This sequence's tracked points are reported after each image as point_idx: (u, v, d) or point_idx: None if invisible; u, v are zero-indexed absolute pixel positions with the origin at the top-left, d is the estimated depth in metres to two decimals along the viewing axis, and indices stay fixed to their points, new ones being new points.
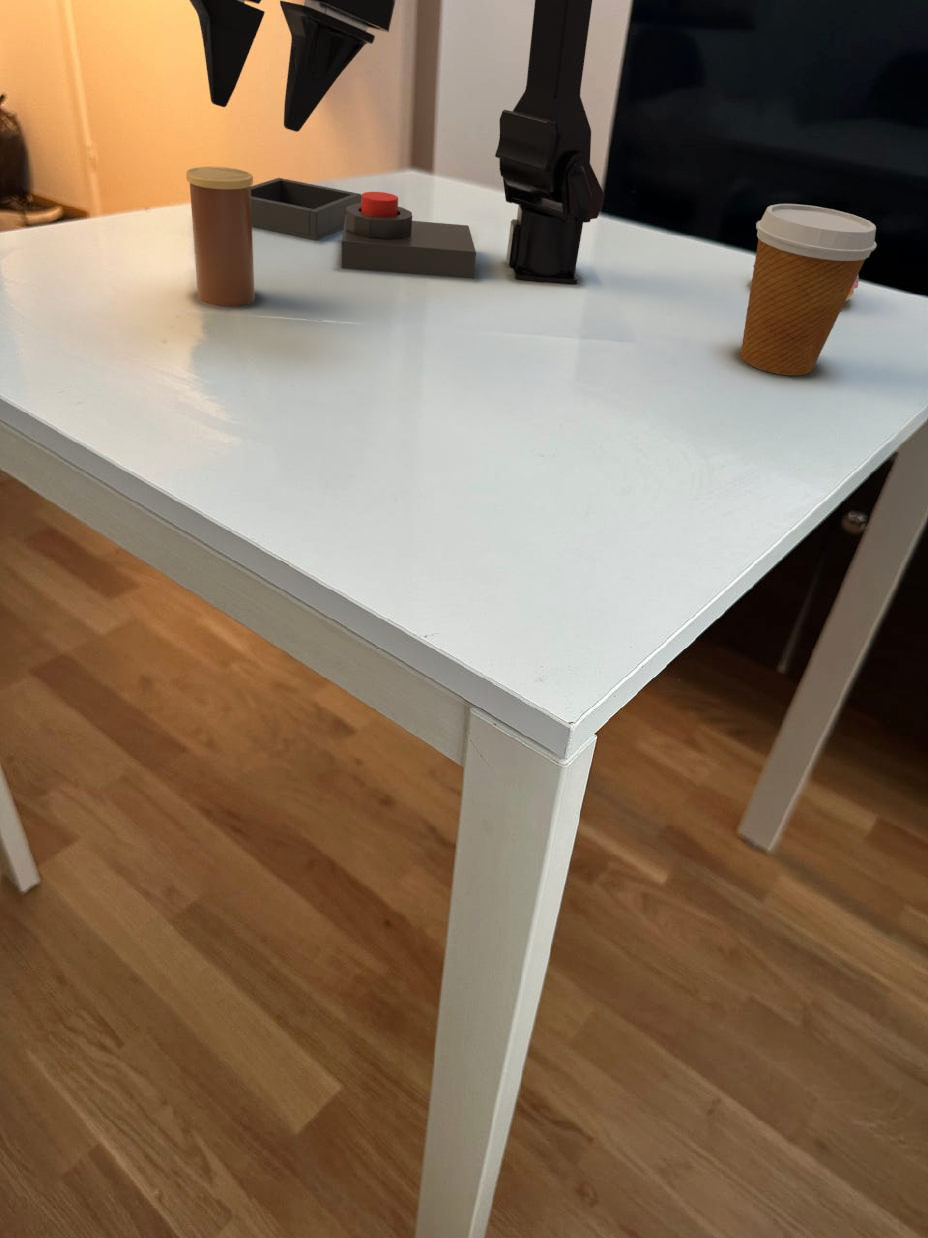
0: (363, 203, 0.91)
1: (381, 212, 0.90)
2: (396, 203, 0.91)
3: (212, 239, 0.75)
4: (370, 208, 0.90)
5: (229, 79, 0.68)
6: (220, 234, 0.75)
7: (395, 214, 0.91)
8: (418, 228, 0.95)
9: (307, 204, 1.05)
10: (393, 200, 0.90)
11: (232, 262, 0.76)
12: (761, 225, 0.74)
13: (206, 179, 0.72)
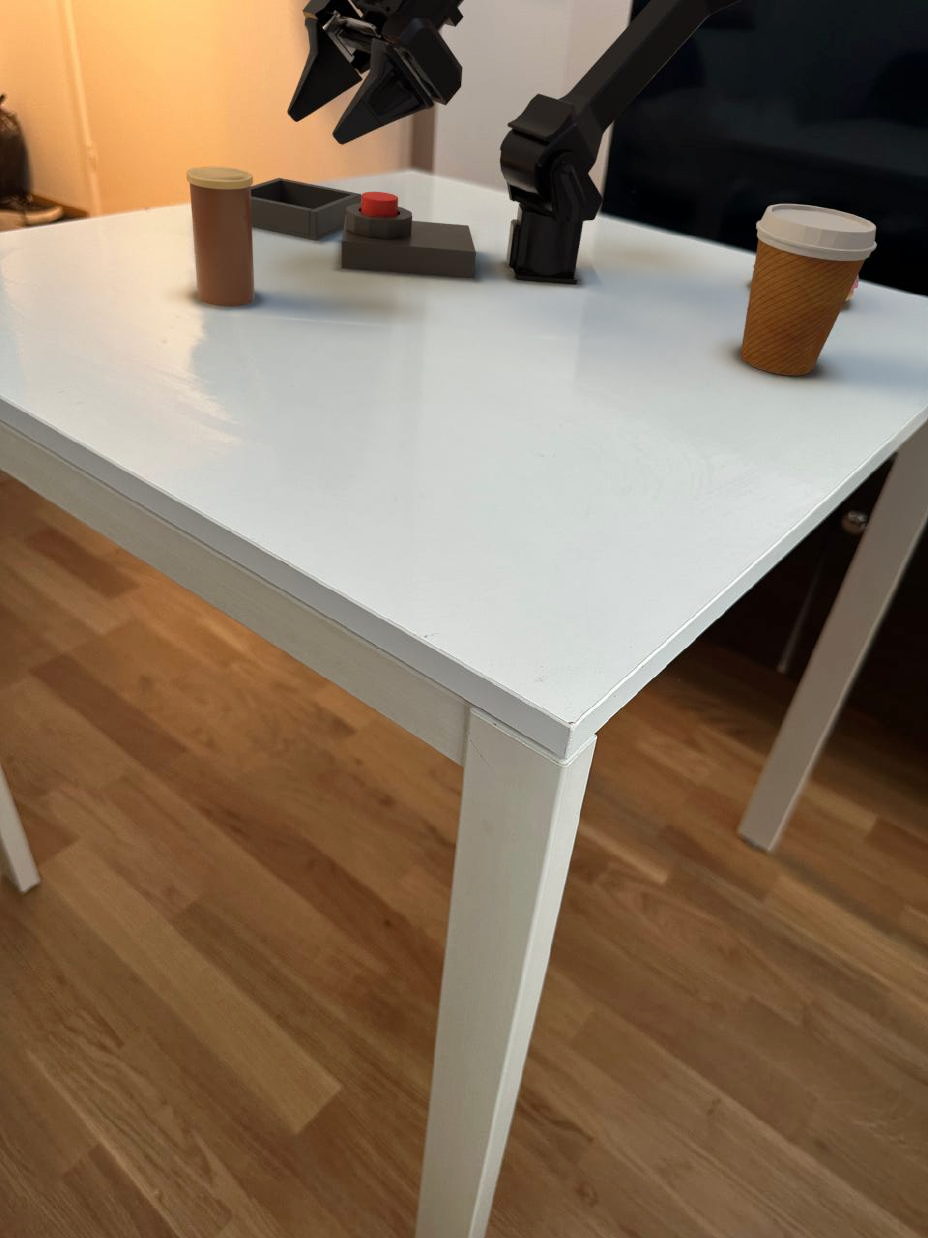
0: (363, 203, 0.91)
1: (381, 212, 0.90)
2: (396, 203, 0.91)
3: (212, 239, 0.75)
4: (370, 208, 0.90)
5: (309, 104, 0.79)
6: (220, 234, 0.75)
7: (395, 214, 0.91)
8: (418, 228, 0.95)
9: (307, 204, 1.05)
10: (393, 200, 0.90)
11: (232, 262, 0.76)
12: (761, 225, 0.74)
13: (206, 179, 0.72)
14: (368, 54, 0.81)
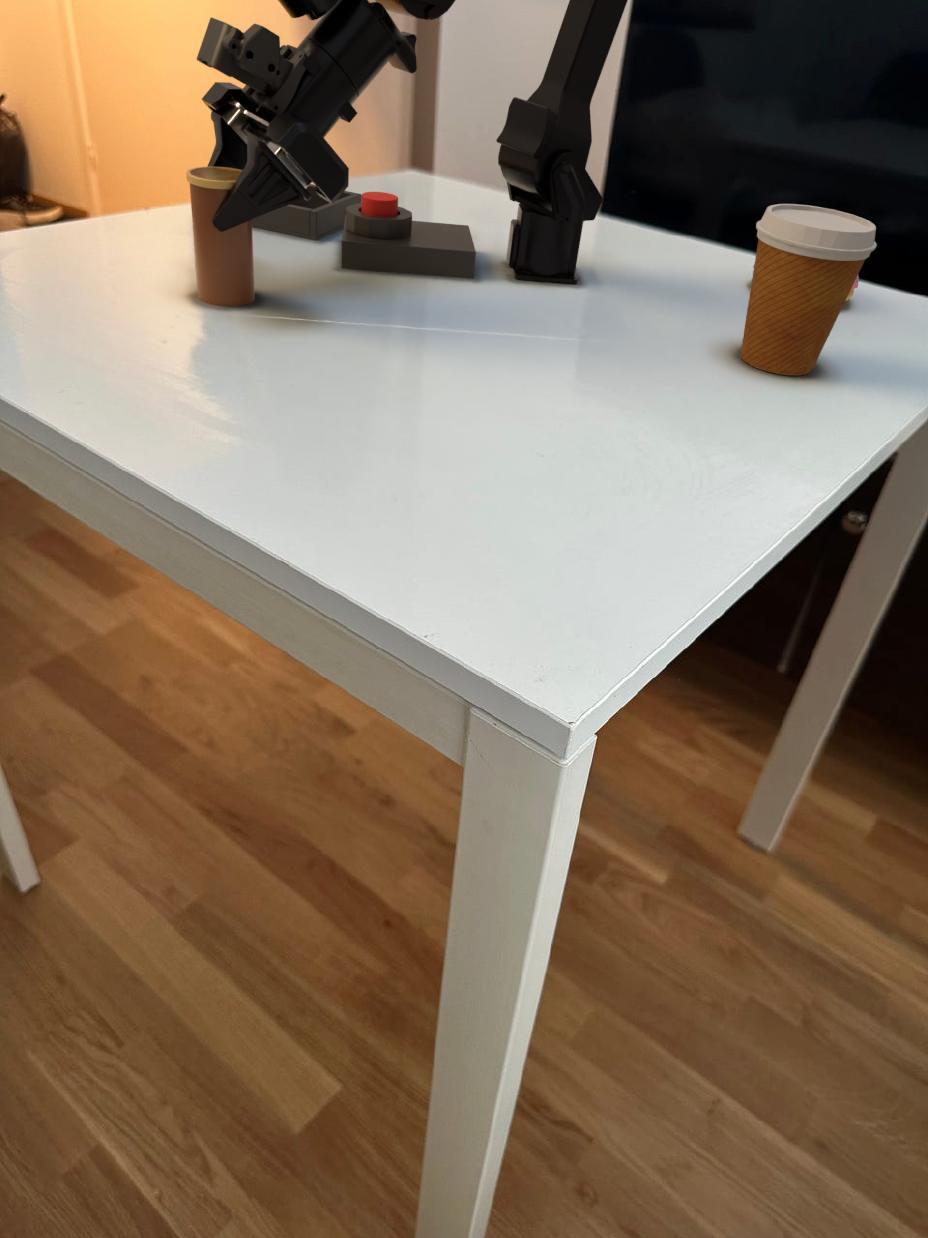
0: (363, 203, 0.91)
1: (381, 212, 0.90)
2: (396, 203, 0.91)
3: (212, 239, 0.75)
4: (370, 208, 0.90)
5: None
6: (220, 234, 0.75)
7: (395, 214, 0.91)
8: (418, 228, 0.95)
9: (307, 204, 1.05)
10: (393, 200, 0.90)
11: (232, 263, 0.76)
12: (761, 225, 0.74)
13: (206, 179, 0.72)
14: None
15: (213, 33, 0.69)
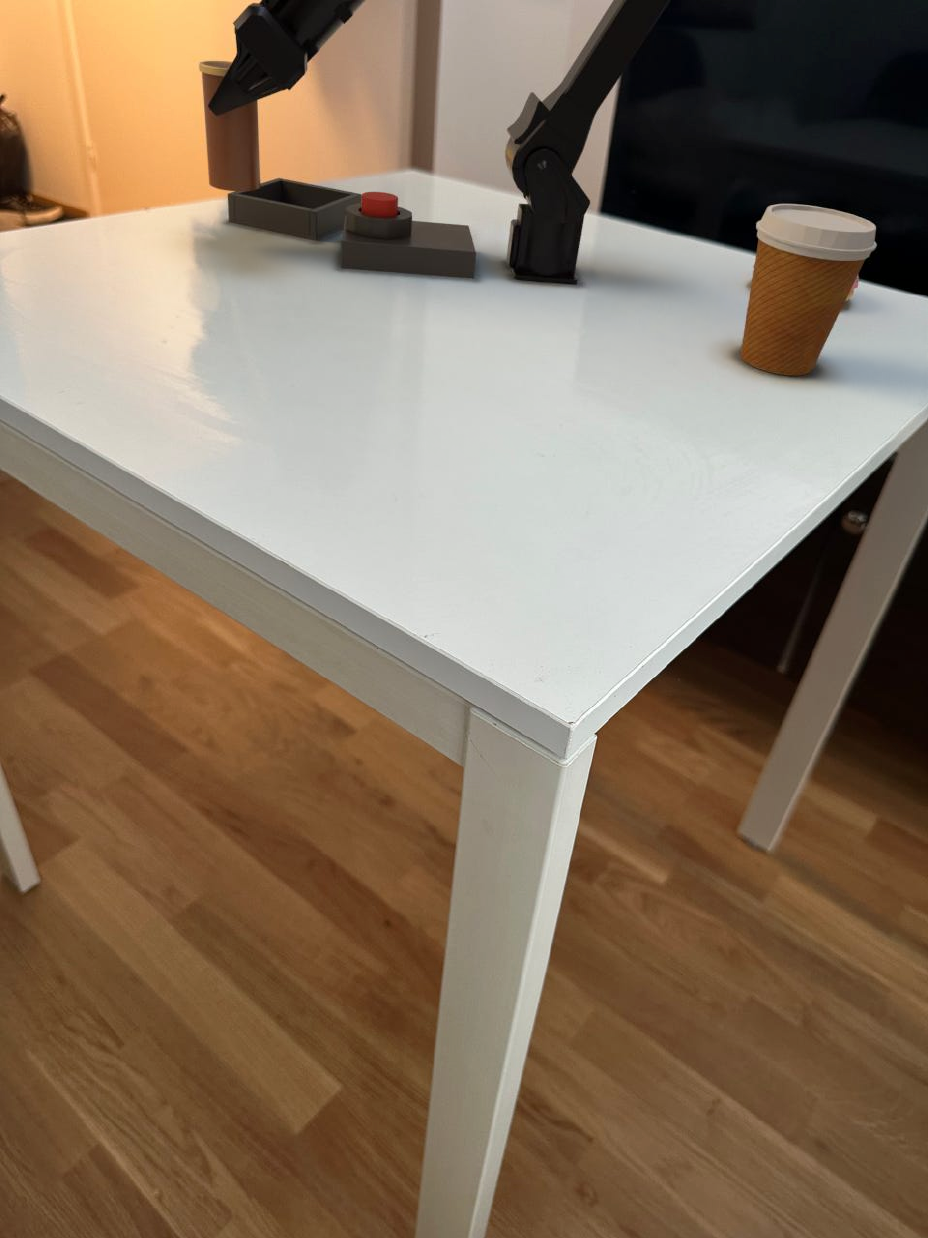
0: (363, 203, 0.91)
1: (381, 212, 0.90)
2: (396, 203, 0.91)
3: (211, 123, 0.84)
4: (370, 208, 0.90)
5: None
6: (217, 118, 0.83)
7: (395, 214, 0.91)
8: (418, 228, 0.95)
9: (307, 204, 1.05)
10: (393, 200, 0.90)
11: (228, 147, 0.85)
12: (761, 225, 0.74)
13: (206, 65, 0.81)
14: None
15: None
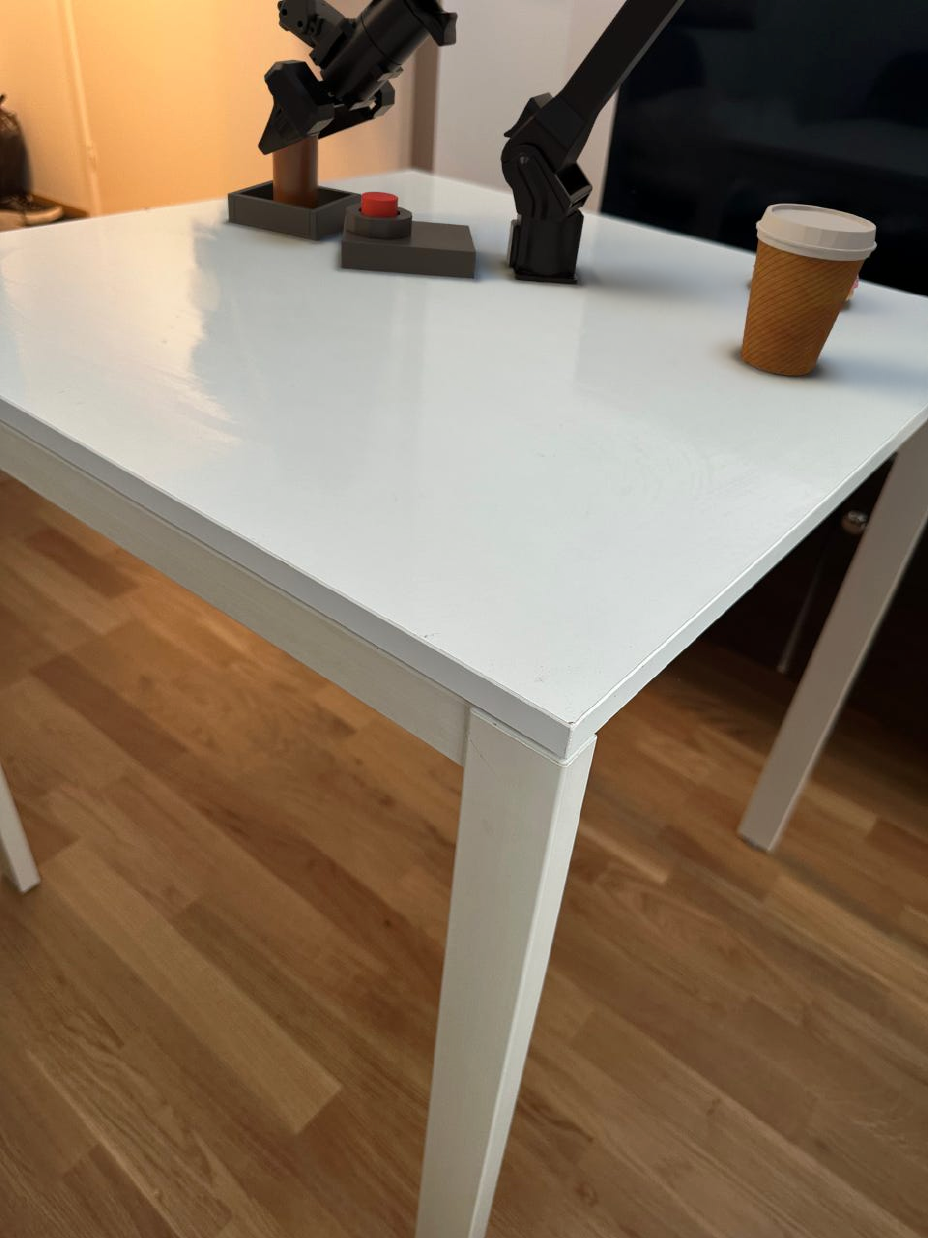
0: (363, 203, 0.91)
1: (381, 212, 0.90)
2: (396, 203, 0.91)
3: (274, 163, 0.98)
4: (370, 208, 0.90)
5: None
6: (277, 160, 0.97)
7: (395, 214, 0.91)
8: (418, 228, 0.95)
9: None
10: (393, 200, 0.90)
11: (283, 185, 0.98)
12: (761, 225, 0.74)
13: None
14: None
15: None
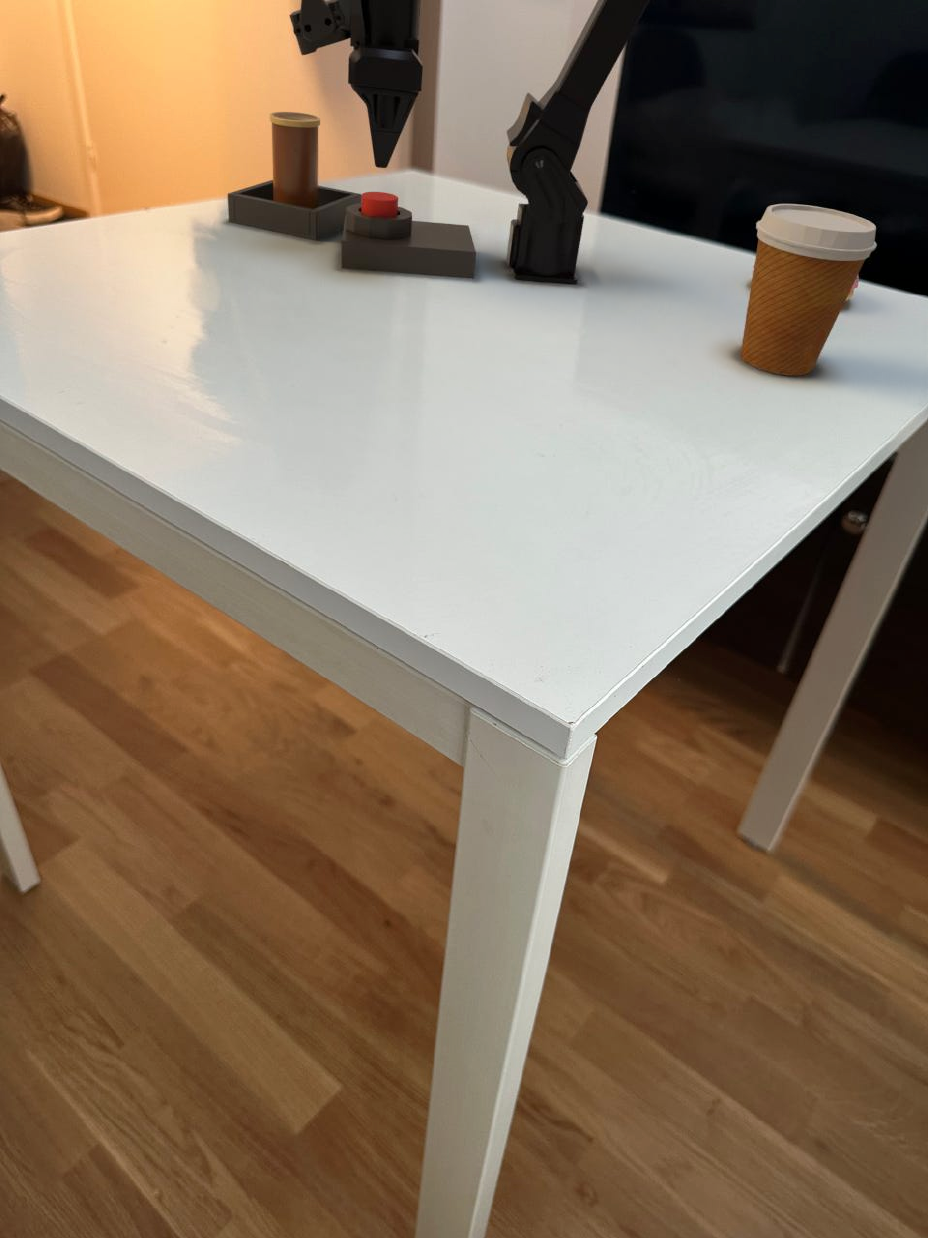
0: (363, 203, 0.91)
1: (381, 212, 0.90)
2: (396, 203, 0.91)
3: (274, 163, 0.98)
4: (370, 208, 0.90)
5: None
6: (277, 160, 0.97)
7: (395, 214, 0.91)
8: (418, 228, 0.95)
9: None
10: (393, 200, 0.90)
11: (283, 185, 0.98)
12: (761, 225, 0.74)
13: (272, 115, 0.95)
14: None
15: None
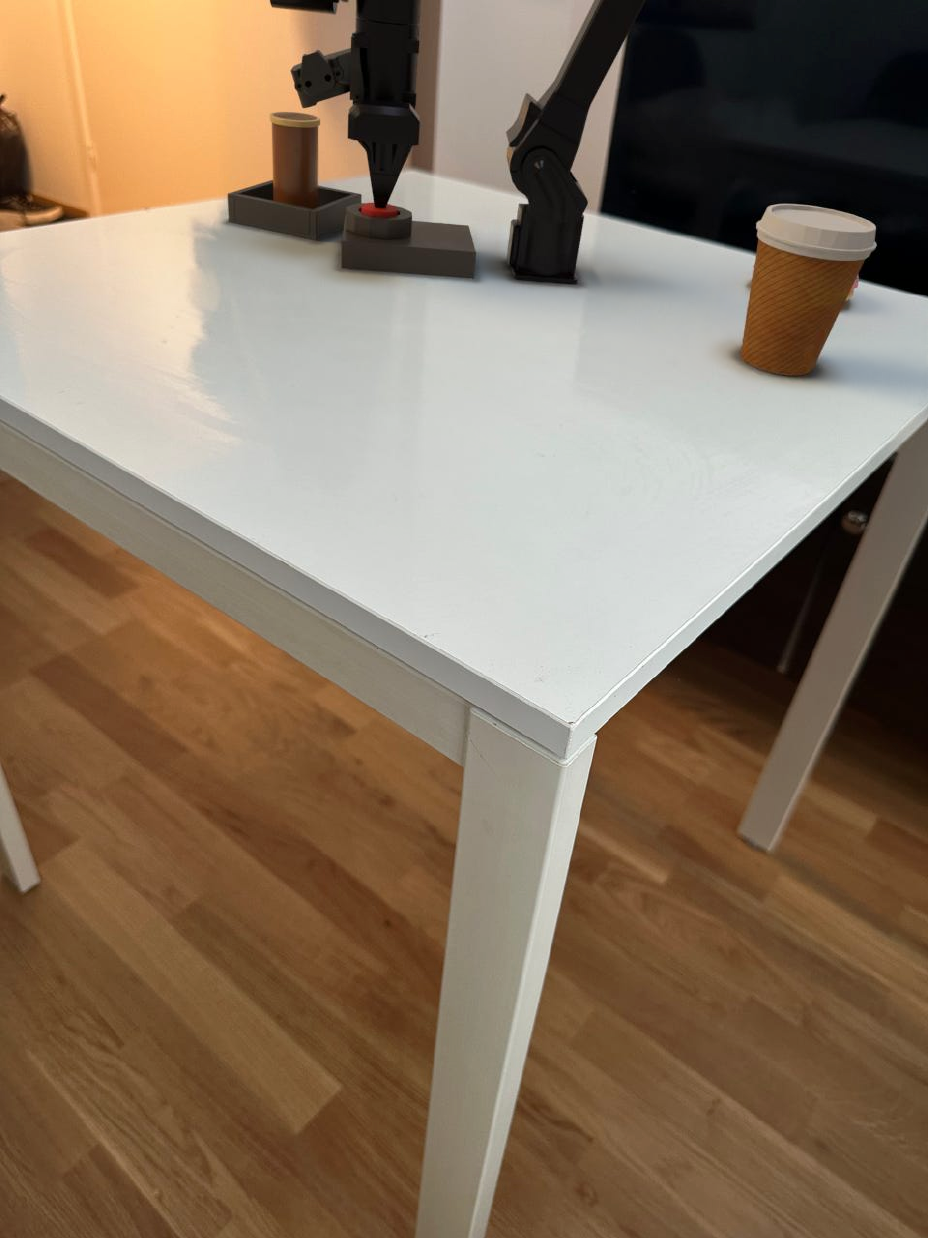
0: None
1: None
2: (395, 214, 0.91)
3: (274, 163, 0.98)
4: None
5: None
6: (277, 160, 0.97)
7: None
8: (418, 228, 0.95)
9: None
10: (392, 211, 0.91)
11: (283, 185, 0.98)
12: (761, 225, 0.74)
13: (272, 115, 0.95)
14: None
15: None
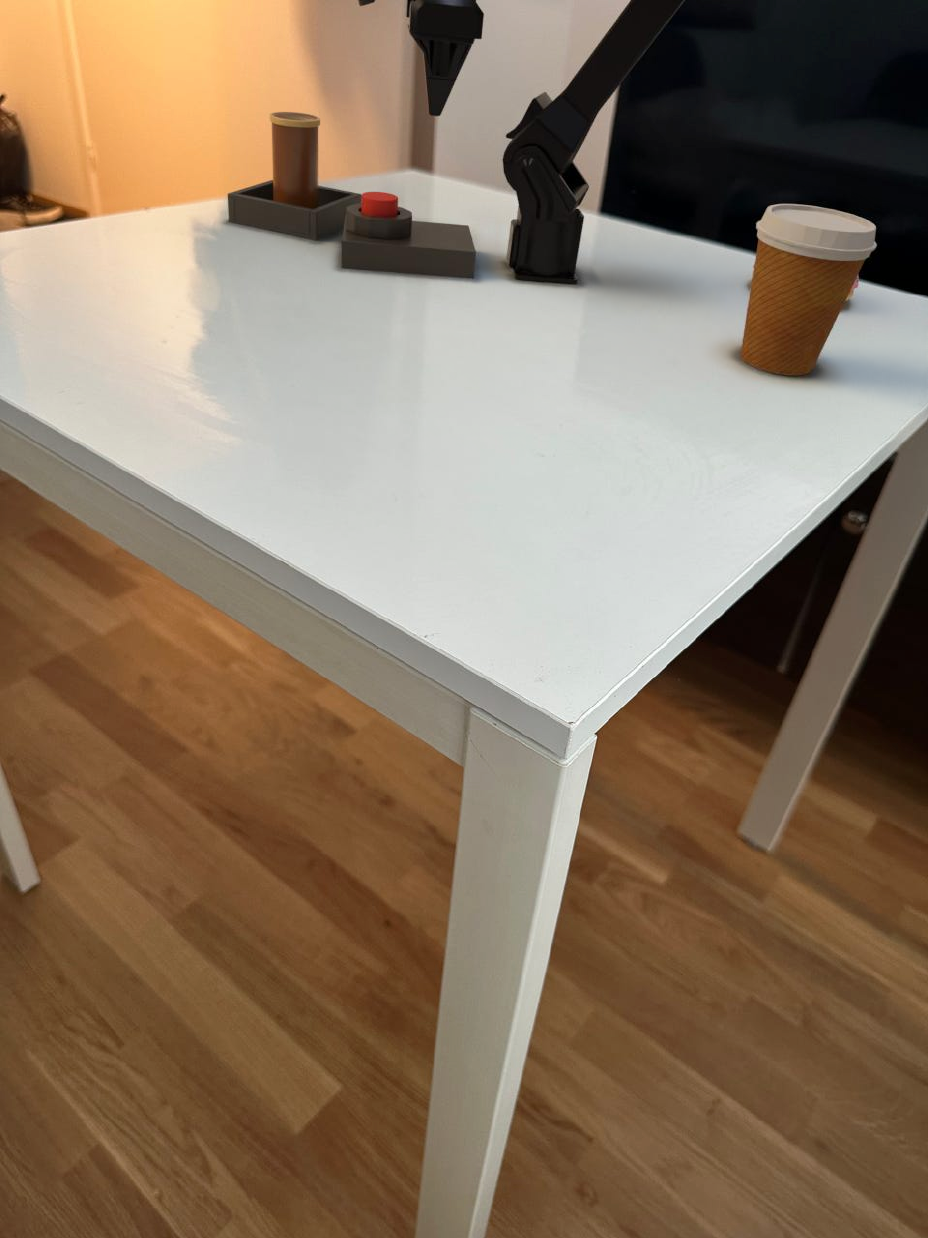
0: (363, 203, 0.91)
1: (381, 212, 0.90)
2: (396, 203, 0.91)
3: (274, 163, 0.98)
4: (370, 208, 0.90)
5: None
6: (277, 160, 0.97)
7: (395, 214, 0.91)
8: (418, 228, 0.95)
9: None
10: (393, 200, 0.90)
11: (283, 185, 0.98)
12: (761, 225, 0.74)
13: (272, 115, 0.95)
14: None
15: None
